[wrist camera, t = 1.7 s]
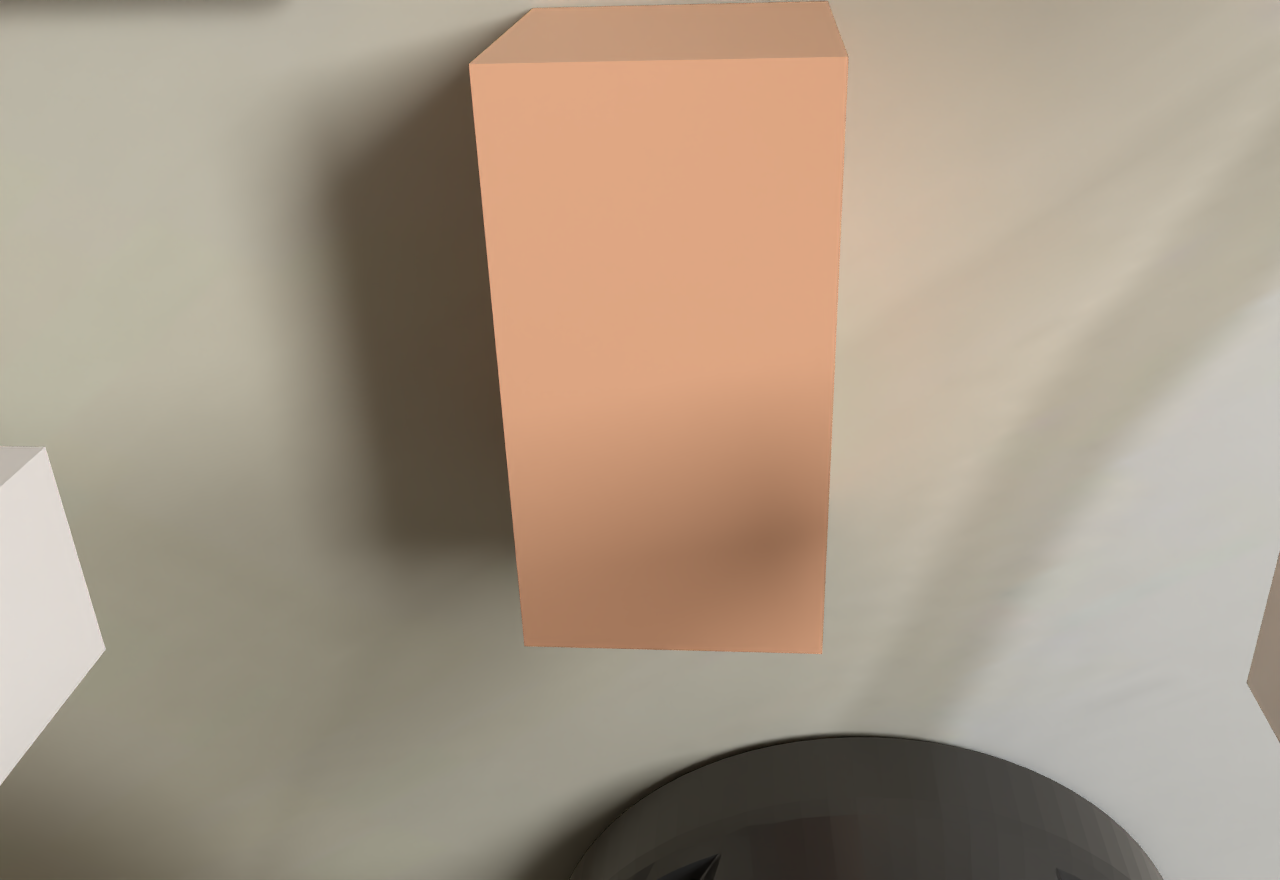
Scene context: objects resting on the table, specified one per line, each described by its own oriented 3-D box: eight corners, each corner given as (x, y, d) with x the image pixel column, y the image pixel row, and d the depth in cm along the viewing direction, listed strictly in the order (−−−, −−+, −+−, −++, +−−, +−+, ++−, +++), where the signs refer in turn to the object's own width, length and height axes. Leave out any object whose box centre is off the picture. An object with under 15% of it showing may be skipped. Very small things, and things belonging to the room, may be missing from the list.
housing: (809, 496, 24) (822, 654, 19) (567, 493, 24) (524, 646, 20) (827, 0, 19) (848, 56, 15) (533, 8, 20) (468, 63, 15)
